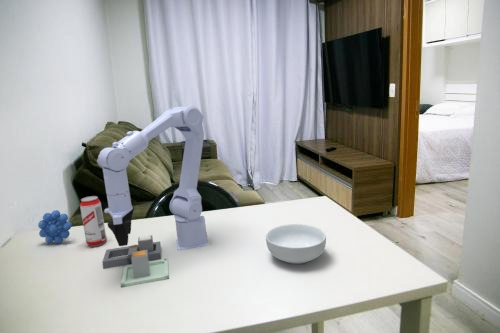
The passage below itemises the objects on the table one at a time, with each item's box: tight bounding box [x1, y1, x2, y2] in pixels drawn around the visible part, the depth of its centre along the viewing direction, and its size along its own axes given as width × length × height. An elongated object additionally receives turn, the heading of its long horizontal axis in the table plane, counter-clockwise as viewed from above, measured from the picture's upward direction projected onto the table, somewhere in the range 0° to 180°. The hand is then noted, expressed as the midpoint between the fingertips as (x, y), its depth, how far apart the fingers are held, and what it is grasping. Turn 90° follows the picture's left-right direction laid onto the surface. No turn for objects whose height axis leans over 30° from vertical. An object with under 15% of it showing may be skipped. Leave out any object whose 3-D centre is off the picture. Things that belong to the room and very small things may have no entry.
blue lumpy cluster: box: [38, 210, 73, 245], centre depth 117 cm, size 12×7×12 cm, turn 87°
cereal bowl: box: [265, 223, 327, 265], centre depth 98 cm, size 17×17×7 cm
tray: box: [120, 258, 170, 288], centre depth 93 cm, size 12×10×1 cm
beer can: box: [79, 195, 108, 248], centre depth 113 cm, size 6×6×16 cm
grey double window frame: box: [101, 241, 162, 270], centre depth 103 cm, size 16×8×3 cm, turn 104°
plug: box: [131, 250, 150, 279], centre depth 93 cm, size 4×4×6 cm
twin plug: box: [137, 234, 154, 252], centre depth 103 cm, size 4×4×6 cm
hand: (125, 239), depth 94 cm, fingers open, 7 cm apart
